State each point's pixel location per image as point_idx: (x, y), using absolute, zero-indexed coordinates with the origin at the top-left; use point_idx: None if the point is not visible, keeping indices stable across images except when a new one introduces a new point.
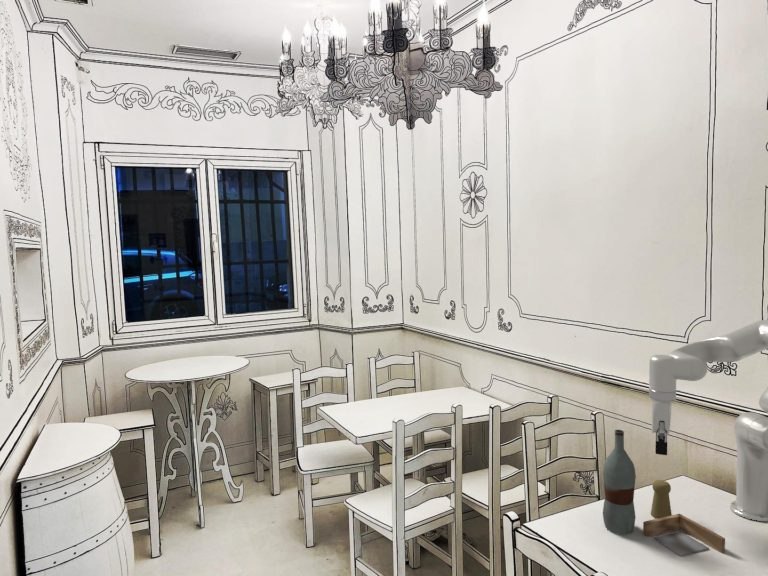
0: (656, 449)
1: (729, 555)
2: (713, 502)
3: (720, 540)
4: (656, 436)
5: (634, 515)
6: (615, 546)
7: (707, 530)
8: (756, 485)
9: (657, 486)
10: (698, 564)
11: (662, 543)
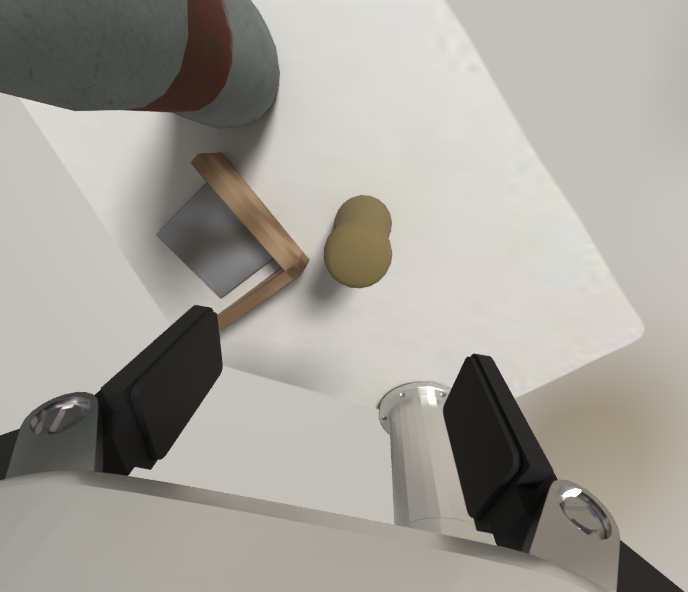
0: (176, 330)
1: None
2: None
3: None
4: (492, 409)
5: (196, 121)
6: None
7: (229, 315)
8: (394, 480)
9: (330, 239)
10: (145, 262)
11: (190, 200)
